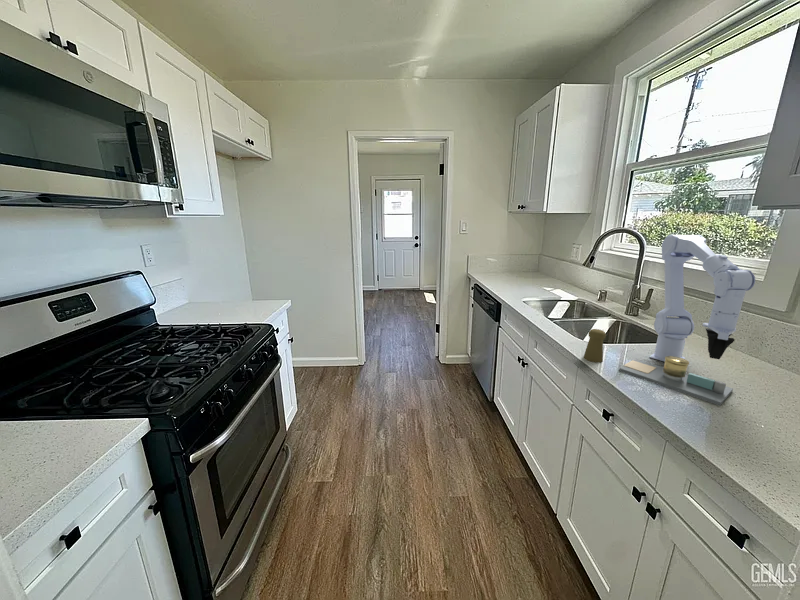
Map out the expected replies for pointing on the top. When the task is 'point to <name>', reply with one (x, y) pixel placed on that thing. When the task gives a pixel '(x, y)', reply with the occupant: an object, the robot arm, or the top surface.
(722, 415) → the top surface
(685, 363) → the cap
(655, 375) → the post board
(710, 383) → the lock lever
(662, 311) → the robot arm
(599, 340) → the pepper shaker
